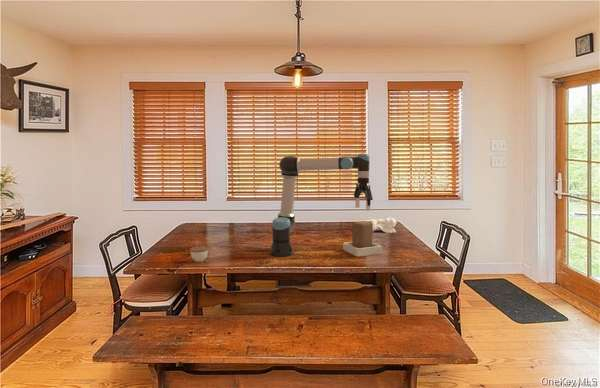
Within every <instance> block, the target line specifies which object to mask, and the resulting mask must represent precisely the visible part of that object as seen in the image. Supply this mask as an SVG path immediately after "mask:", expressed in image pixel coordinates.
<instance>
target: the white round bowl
mask: <svg viewBox="0 0 600 388" xmlns="http://www.w3.org/2000/svg"><path fill="white" fill-rule="evenodd" d="M189 250H190V256H191V259H192V260H193V261H194V262H197V263H200V262H201V263H202V262H203V261H205V260H206V259H207V257H208V255H209V253H208V252H209V248H208V247H207V246H201V245H197V246H194V247H190V249H189Z"/></svg>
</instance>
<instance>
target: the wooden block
mask: <svg viewBox="0 0 600 388" xmlns="http://www.w3.org/2000/svg"><path fill="white" fill-rule="evenodd" d="M373 233H374V232H373V224H372V222H368V221H364V220H362V221H355V222H353V223H352V233H351V235H352V238H351V239H352V241H351V242H352V246H354V247H356V248H366V247H372V242H373Z"/></svg>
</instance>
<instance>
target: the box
mask: <svg viewBox="0 0 600 388" xmlns="http://www.w3.org/2000/svg"><path fill="white" fill-rule="evenodd" d="M342 244H343V245H342V246H343V247H342V249H343V251H344V252H347V253H349V254H350V255H352V256H355V257H357V258H358V257H359V258H360V257H367V256H368V257H369V256H374V255H382V254H383V246H381V245H379V244H378V243H376V242H375V243H374V242H373V241H372V247H366V248H356V247H354V246H352V241H348V242H347V241H346V242H342Z"/></svg>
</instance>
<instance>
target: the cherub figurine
mask: <svg viewBox="0 0 600 388" xmlns="http://www.w3.org/2000/svg"><path fill="white" fill-rule="evenodd" d="M371 223H372V224H373V232H372V233H374V231H377V230H378V229H380V230H381V231H382V232H384V233H387V234H393V233H397V230H396V229H395V228H394V227H396V226H397V220H396V219H395V218H394V217H386V218H384V219H383V218H378V219H374V218H371Z"/></svg>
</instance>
